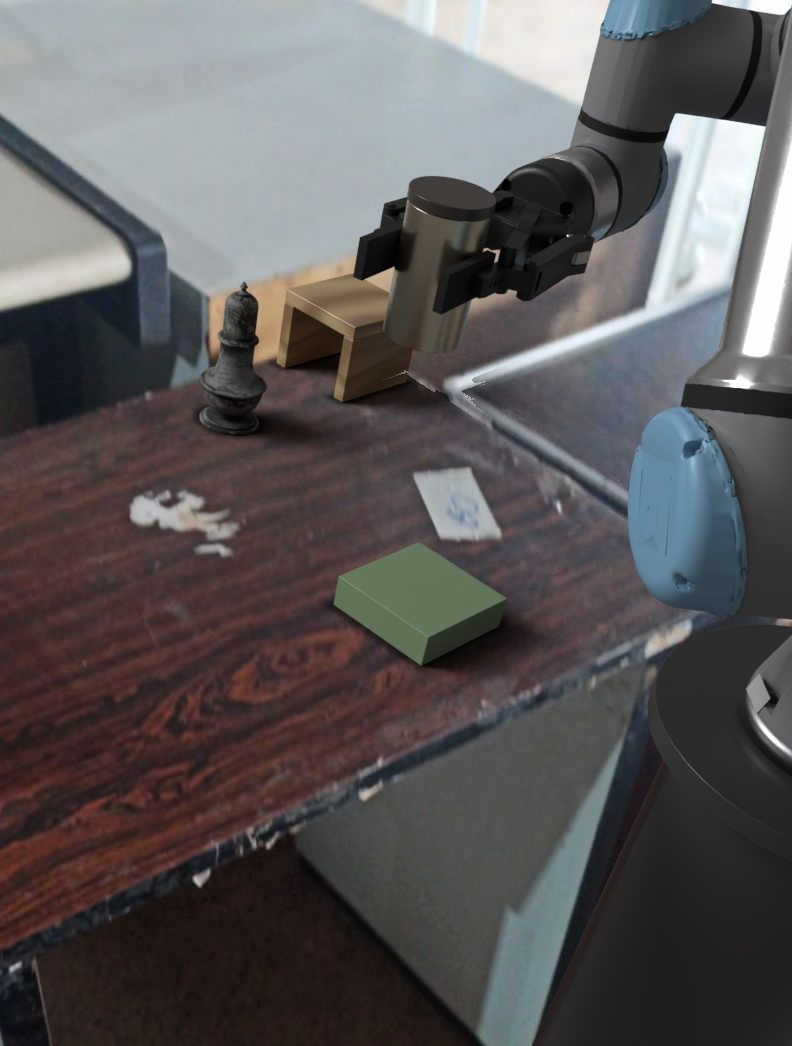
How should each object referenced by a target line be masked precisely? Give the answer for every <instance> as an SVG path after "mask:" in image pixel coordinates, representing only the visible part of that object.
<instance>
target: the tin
mask: <svg viewBox="0 0 792 1046" xmlns="http://www.w3.org/2000/svg"><path fill="white" fill-rule="evenodd" d="M492 193H493V192H491V191H489V190H488V189H486V188H485V187H483V186H480V185H478V184H475V183H473V182H470V181H467V180H463V179H460V178H455V177H450V176H443V175H441V176H440V175H424V176H417V177H415V178H413V179H412V180H410V182H409V183H408V188H407V193H406V197H407V199H408V200H407V205H406V210H405V215H404V220H403V226H402V231H401V236H400V241H399V246H398V252H397V257H396V262H395V267H393V273H392V278H391V282H390V289H389V298H388V303H387V309H386V314H385V319H384V324H383V331H384V333H385V335H386V336H387V337H388V338H389V339H391V340H392V341H394V342H395V343H397V344H399V345H401V346H403V347H406V348H409V349H412V350H413V351H416V352H422V353H426V354H427V353H429V354H445V353H450V352H453V351H456V350H458V349H459V348H460V346H462V343H463V338H464V334H465V331H466V330H465V328H466V326H467V322H468V318H469V317H468V316H469V313H470V309H471V305H472V300H473V299H472V300H470V301H468V302H466V303H464V304H462V305H460V306H458V307H456V308H454V309H452V310H450V311H448V312H446V313H444V314H442V315H440V314H438V313H436V312H433V311H432V309H433V305H434V300H435V295H436V291H437V286H438V282H439V277H440V272H441V271H442V270H444V269H446V268H448V267H451V266H453V265H455V264H457V263H459V262H462V261H464V260H466V259H468V258H471V257H473V256H475V255H478V254H480V253H482V252H484V251H485V249H484V246H485V242H486V238H487V234H488V229H489V225H490V221H491V217H492V216H493V214H494V211H495V206H496V198H495V196H494V195H493V194H492Z"/></svg>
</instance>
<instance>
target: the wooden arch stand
mask: <svg viewBox="0 0 792 1046" xmlns="http://www.w3.org/2000/svg"><path fill="white" fill-rule="evenodd" d="M353 274H354V272H353V273H349V274H345V275H339V276H336V277H332V278H328V279H324V280H319V281H315V282H310V283H306V284H302V285H298V286H293V287H290V288H286V292H285V299H284V303H283V312H282V319H281V327H280V334H279V343H278V348H277V349H278V350H277V355H276V356H277V357H276V364H277V365H279V366H280V367H283V368H284V369H286V368H291V367H293V366H297V365H301V364H304V363H307V362H311V361H315V360H318V359H321V358H325V357H328V356H331V355H336V354H338V353H340V357H339V364H338V369H337V375H336V380H335V381H336V382H335V387H334V393H333V398H335V399H336V400H337V401H339V402H341V403H344V402H347V401H351V400H354V399H357V398H360V397H364V396H366V395H370V394H373V393H377V392H378V391H383V390H386V389H389V388H392V387H394V386H398V385H401V384H405V383H406V382H407V378H408V374H409V369H410V364H411V360H412V356H413V351H414V350H412V349H409V348H406V347H403V346H401V345H399V344H397V343H395V342H394V341H392V340H391V339H389V338H388V337H387V336H386V335H385V333H384V331H383V324H384V319H385V314H386V309H387V303H388V298H389V293H390V291H387V290H385V289H383V288H382V287H379V286H377V285H376V284H374V283H372V282H370V281H369V280H367V279H365V280H362V281H361V280H359V279H357V278H354V277H353ZM404 370H406V371H408V373H405V374H401V375H398V376H395V375H396V374H399V373H401V372H404ZM392 376H395V377H392ZM388 377H389V379H386V378H388ZM390 377H392V378H390ZM383 379H385V380H383Z"/></svg>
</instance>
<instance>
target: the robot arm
mask: <svg viewBox="0 0 792 1046" xmlns="http://www.w3.org/2000/svg"><path fill="white" fill-rule="evenodd" d="M592 60H593V61H592V64H591V67H590V71H589V75H588V79H587V83H586V88H585V92H584V95H583V100H582V103H581V107H580V111H579V114H578V115H577V119H576V123H575V126H574V131H573V133H572V138H571V142H570V144H569V148H567V149H564V150H561V151H557V152H555V153H552V154H549V155H546V156H543V157H541V158H540V159H538V160H535V161H532V162H529V163H527V164H523V165H521V166H519V167H517V168H515V169H514V170H512V171H511V172H509V174H507V175H506V176H505V177H504V178H503V180H501V182H500V183H499V184H498V186H497V187H496V188H495V189H494V190H493V192H491V193H492V194H493V195H494V196H495V198H496V206H495V211H494V214H493V216H492V217H491V221H490V225H489V229H488V234H487V238H486V242H485V246H484V250H483V252H482V253H480V254H478V255H475V256H473V257H471V258H468V259H466V260H464V261H462V262H459V263H457V264H455V265H453V266H451V267H448V268H446V269H444V270H442V271H441V272H440V277H439V282H438V286H437V291H436V295H435V300H434V305H433V309H432V311H433V312H436V313H438V314H440V315H442V314H444V313H446V312H448V311H450V310H452V309H454V308H456V307H458V306H460V305H462V304H464V303H466V302H468V301H470V300H474V299H486V298H488V297H489V296H490V297H491V296H492V295H494V294H496V295H506V294H507V293H508V291H509V290H510V291H513V292H516V293H515V297H516V298H517V299H518V300H520V301H522V302H531V301H532V300H533V301H534V299H536V298H537V297H539V296H540V295H542V294H544V293H545V292H546V291H548V290H549V289H551V288H552V287H554V286H556V285H557V284H559V283H560V282H562V281H563V280H565V279H567V278H568V277H572V276H577V275H583V274H586V271H587V267H588V263H589V260H590V257H591V254H592V250H593V247H594V244H596V243H598V242H601V241H603V240H604V239H607V238H610V237H611V236H614V235H616V234H618V233H623V232H625V231H627V230H629V229H631V228H633V227H634V226H636V225H637V224H638V223H639V222H640V221H641V220H642V219H643V218H645V217H646V216H647V215H649V214H650V213H651V212H652V211H653V210H654V209H655V208H656V207H657V206H658V205H659V203H660V201H661V200H662V198H663V196H664V193H665V191H666V189H667V184H668V182H669V164H668V163H669V162H668V155H667V152H666V149H665V144H666V140H667V138H668V135H669V133H670V129H671V125H672V123H673V120H674V118H675V116H676V114H678V115H686V116H692V117H701V118H708V119H714V120H721V121H728V122H734V123H739V124H740V123H741V124H747V125H753V126H757V127H758V126H759V127H765V128H764V132H763V137H762V141H761V147H760V152H759V157H758V161H757V165H756V171H755V175H754V180H753V184H752V189H751V193H750V199H749V204H748V207H747V213H746V217H745V222H744V227H743V232H742V235H741V236H742V237H741V241H740V246H739V249H738V255H737V258H736V259H737V260H736V264H735V268H734V269H735V270H734V273H733V279H732V283H731V287H730V293H729V298H728V302H727V307H726V310H725V311H726V312H725V316H724V321H723V326H722V330H721V334H720V340H719V344H718V348H717V350H716V351H715V353H714V354H713V355H712V356H711V358H709V359H708V360H707V361H706V362H704V363H703V364H702V365H700V366H699V367H698V368H697V369H696V370H694V371H693V372H692V373H691V374H689V375H688V376H687V377H686V378H685V383H684V387H683V392H682V397H681V402H680V406H673V407H670V408H669V409H668V410H667V409H666V410H663V411H660V412H659V413H657V414H656V415H655V416H654V417H652V418H651V419H650V421H648V423H647V425H646V426H645V428H644V430H643V432H642V433H641V444H639V445H638V446H637V447H636V450H635V452H634V456H633V461H632V464H631V470H630V475H629V484H628V494H627V528H628V538H629V544H630V545H629V546H630V551H631V554H632V557H633V561H634V565H635V569H636V572H637V574H638V576H639V578H640V580H641V582H642V584H643V585H644V587H645V588H646V590H647V591H648V593H649V594H650V595H651V596H652V598H655V600H657V601H658V602H660V603H662V604H664V605H666V606H668V607H672V608H676V609H682V610H689V611H696V612H705V613H708V614H711V615H712V616H715V617H717V618H728V617H731V616H733V615H736V616H746V617H757V618H769V619H778V620H790V621H791V620H792V5H790V8H789V9H788V10H787V11H786V12H784V14H783V13H782V14H777V13H772V12H771V13H770V12H763V11H757V10H752V9H747V8H740V7H734V6H729V5H725V4H719V3H715V2H713V0H609V2H608V5H607V9H606V12H605V15H604V17H603V20H602V23H601V24H600V28H599V35H598V40H597V44H596V48H595V51H594V56H593V59H592ZM407 200H408V199H407V196H404V197H401V198H397V199H394V200H390V201H388V202H385V203H383V207H382V212H381V218H380V223H379V227H377V228H375V229H374V230H373V231H372V232H370V233H367V234H365V235H362V236H359V240H358V246H357V252H356V257H355V263H354V268H353V277H354V278H357V279H359V280H361V281H362V280H367V279H369V278H371V277H374V276H376V275H379V274H381V273H384V272H385V271H388V270H390V269H394V267H395V262H396V257H397V252H398V246H399V241H400V236H401V231H402V226H403V220H404V215H405V210H406V205H407ZM485 249H487V250H485ZM493 251H499V253H498V257H497V253H496V252H493ZM496 258H497V261H496ZM740 717H741V720H742V723H743V726H744V728H745V730H746V732H747V734H748V735H749V737H750V738H751V740H752V741H753V743H754V744H755V745H756V746H757V747H758V749H759V750H760V751H761V752H762V753H763V754H764V755H765V756H766V757H767V758H768V759H769V760H771V761H772V762H773V763H774V764H775V765H777V766H778V767H779V768H780V769H782V770H783V771H785V772H786V773H788V774H789V775H791V776H792V635H791V636H790V637H789V638H788V639H787V640H786V641H785V642H784V643H783V644H782V645H781V646H780V647H779V648H778V649H777V650H776V651H775V652H774V653H773V654H772V655H771V656H770V657H768V658H767V659H766V660H765V661H764V662H763V663H762V664H761V665H760V666H759V667H758V668H757V669H756V670H755V672H754V673H753V675H752V677H751V679H750V681H749V683H748V685H747V687H746V689H745V691H744V693H743V695H742V697H741V701H740Z"/></svg>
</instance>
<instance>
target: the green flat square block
mask: <svg viewBox="0 0 792 1046" xmlns="http://www.w3.org/2000/svg"><path fill="white" fill-rule="evenodd" d="M507 602H508V598H507V597H506V596H504V595H502V594H501V593H499V592H498V591H496V590H495V589H493V587H492V588H491V587H490V586H488V585H487V584H485V583H484V582H482V581H481V580H479V579H478V578H476V577H474V576H473V575H471V574H470V573H469V572H467V571H466V570H463V569H462V568H460V567H459V566H457V564H454V563H453V562H451V561H449V560H448V559H447V558H445V557H444V556H442V555H440V554H438V553H437V552H435V550H432V549H431V548H430V547H428V546H426V545H425V544H423V543H422V542H420V541H418V542H416V543H413V544H412V545H409V546H406V547H404V548H402V549H399V550H396V551H394V552H393V553H390V554H387V555H385V556H383V557H381V558H378V559H376V560H374V561H371V562H368V563H367V564H363V565H361V566H359V567H358V568H355V569H352V570H350V571H348V572H345V573H343V574H341V575H339V576H338V580H337V583H336V589H335V595H334V599H333V605H334V606H335V607H336V608H337V609H339V610H340V611H342V612H343V613H345V614H346V615H347V616H349V617H351V618H352V619H353V620H354V621H356V622H357V623H359V624H360V625H362V626H363V627H365V628H366V629H367V630H369V631H371V632H372V633H373V634H375V635H376V636H378V637H379V638H381V639H383V641H385V642H386V643H388V644H389V645H391V647H393V648H395V649H396V650H398V651H399V652H400V653H402V654H403V655H405V656H406V657H407V658H409V659H410V660H412V661H413V662H415V663H417V664H418V665H419V666H421V667H422V666H424V665H426V664H428V663H429V662H432V661H434V660H435V659H438V658H440V657H441V656H443V655H446V654H448V653H449V652H451V651H453V650H455V649H457V648H459V647H461V646H463V645H465V644H467V643H469V642H471V641H473V640H475V639H477V638H479V637H481V636H483V635H485V634H487V633H489V632H491V631H493V630H494V629H497V628H499V627H500V625H501V621H502V617H503V614H504V611H505V608H506V605H507Z"/></svg>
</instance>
